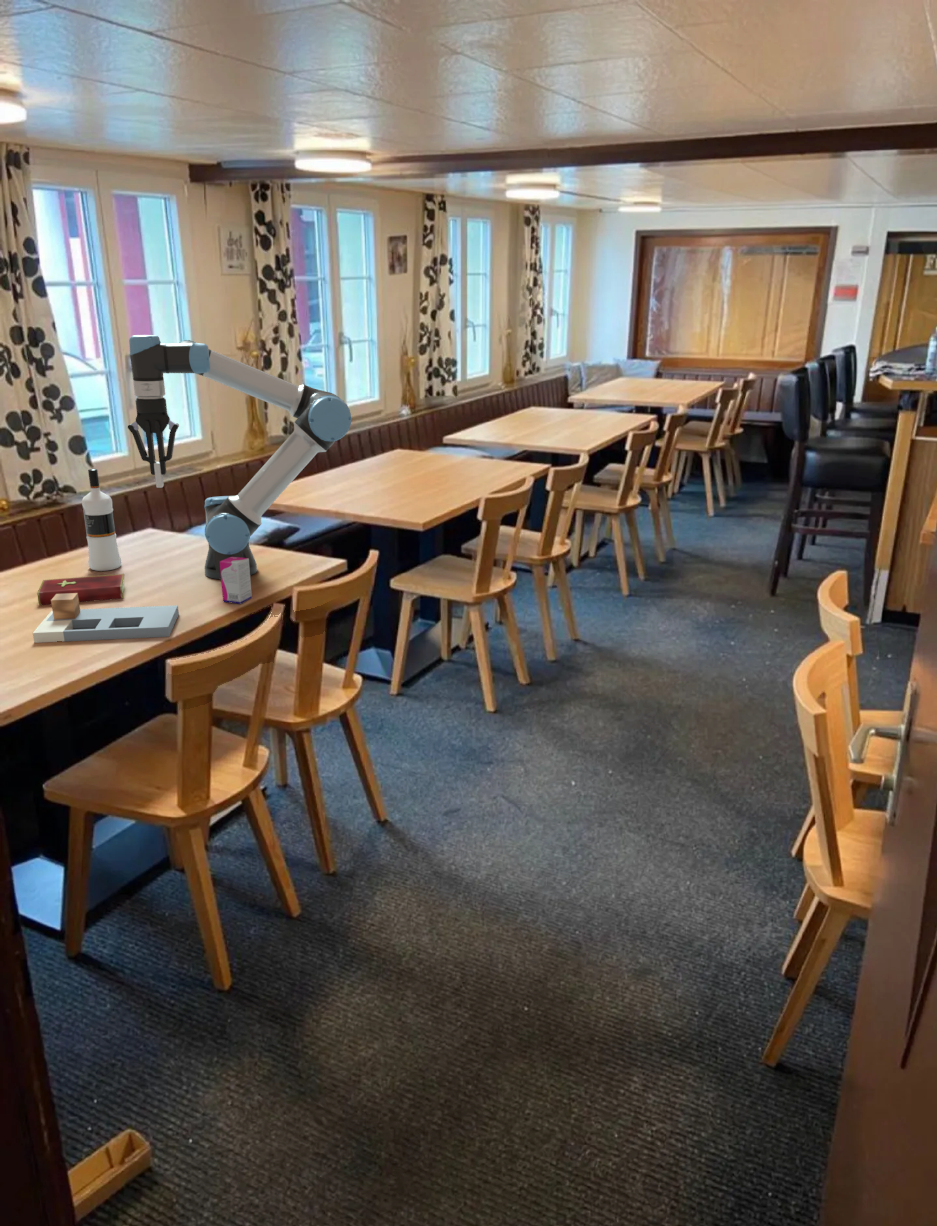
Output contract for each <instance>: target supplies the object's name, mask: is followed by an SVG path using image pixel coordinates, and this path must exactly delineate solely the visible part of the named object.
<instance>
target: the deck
mask: <svg viewBox="0 0 937 1226" xmlns="http://www.w3.org/2000/svg"><path fill="white" fill-rule="evenodd" d="M179 615H180V613H179V605H178V604H177V605H155V606H154V605H153V606H152V605H151V606H149V605H147V606H128V607H106V608H105V607H104V608H103V607H102V608H80V613H79V614H78V616H77V617H76V618H75V619H54V617H53V610H52V609H51V611H50V612H49V613H48V614H47V616H46V617H44V619H43V620H42V621H41V623H39V624H38V626H37V627H36V629H34V631H33V632H32V637H33V642H34V643H35V644H37V643H39V644H40V643H58V642H57V641H62V642H79V641H84V642H85V641H101V640H125V639H144V638H165V637H166V638H167V637H168V638H169V637H170V636H171V633H172V631H173V629H174V627H175V624H176V623H177V622H176V621H177V620H176V619H178V617H179Z"/></svg>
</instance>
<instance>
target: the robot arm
mask: <svg viewBox="0 0 937 1226" xmlns="http://www.w3.org/2000/svg"><path fill="white" fill-rule="evenodd" d="M128 343H129V356H130V364H131V366H130V367H131V373H132V379H133V382H132V383H133V391H134V396H135V397H136V399H134V400H135V408H136V416H135V417H136V418H135V421H134V422H132V423H129V424H128V425H127V429H128V430H129V432H130V434H132V437H133V439H134V442H135V444H136V447H137V449H138V452H139V454H140V458H141V460H142V461H144V462H148V463H149V470H150V475H152V476H154V477H155V486H156V488H159V489H161V488H163V487H164V485H165V483H164V475H166V474H167V465H166V462H168V461H171V459H172V458H173V453H174V447H175V446H174V445H175V441H176V434H177V431H178V429H179V427H180V424H179V423H176V422H174V421H172V420H171V418H170V416H169V414H168V409H167V399H166V397H164V396H165V395H166V390H165V389H166V387H165V381H164V379H165V378H164V374H195V375H199V376H201V377H204V378H206V379H209V380H212V381H214V382H217V383H219V384H221V385H224V386H227V387H229V388H231V389H233V390H236V391H238V392H241V393H244V394H246V395H248V396H251V397H253V398H255V399H258V400H261V401H263V402H266V403H268V404H270V405H273V406H275V407H278V408H280V409H283V410H285V411H287V412H289V415H291V417H292V418H296V419H295V421H294V422H293V431H292V433H291V434H290V435H289V436H288V437H287V438H286V440H284V442H283V443H282V444H281V445H280V446H279V447H278V448H277V450H276V451H275V452H274V453H273V454H272V455H271V457H269V459H268V460H267V461H266V462H265V463H264V465H262V467H261V468H260V469H259V470H258V471H257V472H256V473H255V474H254V475H253V477H252V478H251V479H250V480H249V482H247V484H246V485H245V486H244V487H243V488H242V489H241V490H240V491H239V492H238V494H236V495H222V496H212V497H211V496H210V497H207V498H206V499H205V500H204V511H205V527H204V536H205V539H206V542H207V543H208V551H207V555H206V560H205V563H204V575H205V577H207V578H209V579H210V578H211V579H215V580H221V571H220V561H222V560H225V559H227V558H229V557H240V558H249V568H250V577H251V576H253V575H255V574H257V572H258V565H257V562H256V559H255V556H254V554H253V552H252V550H251V547H250V539H251V536H252V535H253V534H254V533H255V532H256V531H257V530H258V528H260V526H261V525H262V516H263V515H264V514H265V513H266V512H267V511H268V509H269V508H270V507H271V506H272V504H274V502H275V501H276V500H277V499H278V498H279V497H280V495H281V494H282V493H283V492H284V491H285V490H286V489H287V488H288V487H289V485H291V483H292V482H293V481H294V480H295V479H296V478H297V476H298V475H299V474H300V473H301V472H302V471H303V469H305V467H306V466H307V465H308V464H309V463H310V462H311V461H312V460H313V458H315V456H316V455H317V454H318V453H326V452H327V451H328V450H329V449H330V448H331V447H332V446H333V445H334V444H335V442H336V441H339V440H341V439H342V438H344V437H345V436H346V435H347V434H348V432H349V430H350V428H351V425H352V412H351V410H350V408H349V406H348V404H347V403H346V402H345V401H344V400H343V399H341V398H340V397H339V396H338V395H336V394H334V393H332V392H329V391H325V390H322V389H317V388H315V387H311V386H308V385H306V384H304V383H303V384H300V385H297V384H295V383H292V382H289V381H287V380H285V379H282V378H280V377H277V376H275V375H273V374H270V373H267V372H265V371H263V370H261V369H258V368H256V367H254V366H252V365H249V364H246V363H244V362H241V361H239V360H237V359H235V358H232V357H229V356H227V355H224V354H223V353H220V352H217V351H215V350H212V349H210V348H209V346H208V344H206V343H201V342H200V343H199V342H196V341H193V340H189V339H188V340H187V339H186V340H184V339H183V340H181V341H179V342H177V343H174V342H173V343H167V342H165V343H164V342H161V340H160V337H159V335H156V334H155V335H154V334H153V335H152V334H135V335H134V334H133V335H131V336H130V337H129V339H128ZM139 427H140V429H141V430H142V431H144V433H145V437H146V444H147V450H146V448H145V444H144V442H143V439H142V437H141V434H140V431H139ZM167 427H168V429H169V430H170V431H169V434H168V441H167V449H166V451H165V444H164V443H165V442H164V431H165V430H166V428H167ZM154 434H155V437H156V444H157V452H158V461H157V459H156V452H155V444H154V443H155V442H154Z"/></svg>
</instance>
